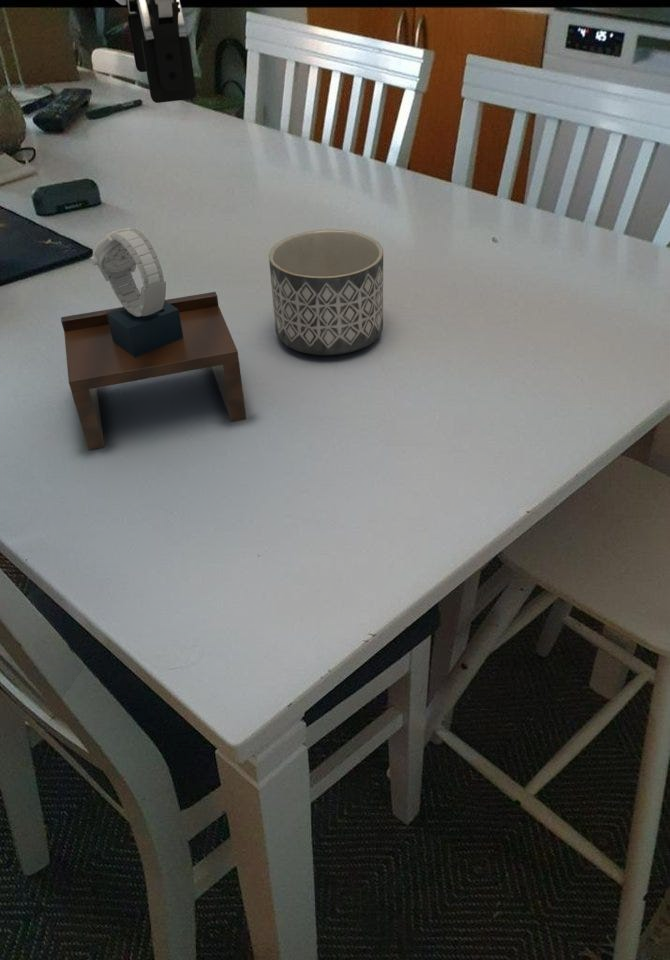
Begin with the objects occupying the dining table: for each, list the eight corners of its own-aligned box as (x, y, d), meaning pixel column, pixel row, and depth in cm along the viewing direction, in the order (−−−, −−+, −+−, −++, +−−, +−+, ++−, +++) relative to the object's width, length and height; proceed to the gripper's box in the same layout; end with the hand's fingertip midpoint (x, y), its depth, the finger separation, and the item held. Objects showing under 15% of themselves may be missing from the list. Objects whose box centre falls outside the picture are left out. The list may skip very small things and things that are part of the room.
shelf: (88, 450, 80) (65, 370, 74) (81, 392, 88) (60, 316, 82) (246, 418, 83) (236, 340, 77) (226, 366, 92) (215, 291, 86)
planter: (375, 366, 90) (375, 280, 84) (265, 360, 92) (256, 274, 86) (388, 312, 100) (389, 231, 93) (288, 307, 102) (282, 227, 95)
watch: (151, 316, 84) (130, 212, 77) (193, 344, 80) (174, 236, 73) (102, 334, 82) (76, 229, 75) (143, 364, 77) (119, 255, 70)
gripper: (53, -204, 57) (106, 64, 67) (64, -214, 44) (126, 120, 55) (160, -208, 58) (195, 55, 69) (201, -219, 45) (235, 107, 56)
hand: (165, 83), depth 62 cm, fingers open, 9 cm apart
